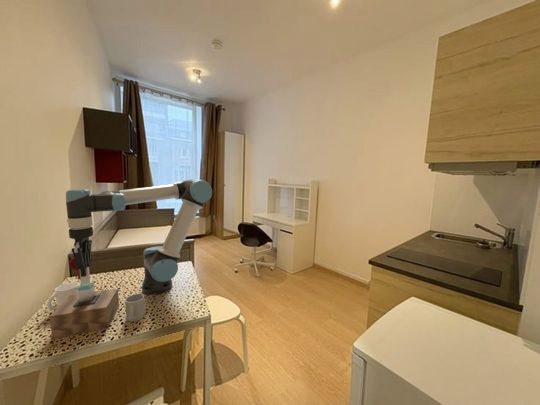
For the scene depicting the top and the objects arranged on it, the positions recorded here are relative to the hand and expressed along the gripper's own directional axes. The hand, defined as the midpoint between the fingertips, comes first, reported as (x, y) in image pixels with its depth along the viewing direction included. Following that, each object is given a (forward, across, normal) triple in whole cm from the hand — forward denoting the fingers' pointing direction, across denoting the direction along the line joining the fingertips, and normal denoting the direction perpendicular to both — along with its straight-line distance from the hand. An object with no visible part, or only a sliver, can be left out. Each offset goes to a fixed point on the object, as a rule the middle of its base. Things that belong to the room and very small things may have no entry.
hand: (85, 282), depth 94 cm
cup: (+17, +5, +18) cm, 26 cm away
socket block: (+17, 0, 0) cm, 17 cm away
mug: (+17, -14, -14) cm, 26 cm away
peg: (+10, 0, 0) cm, 10 cm away
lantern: (+17, -34, -14) cm, 41 cm away
